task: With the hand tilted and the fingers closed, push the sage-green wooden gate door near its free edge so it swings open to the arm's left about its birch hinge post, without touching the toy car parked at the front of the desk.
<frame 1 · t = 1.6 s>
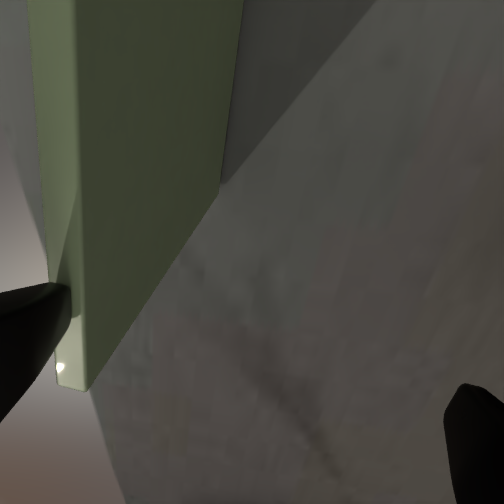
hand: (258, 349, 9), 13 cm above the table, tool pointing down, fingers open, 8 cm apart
door: (175, 104, 14), point 7 cm above the table, hinge at -0.2°, touching gripper
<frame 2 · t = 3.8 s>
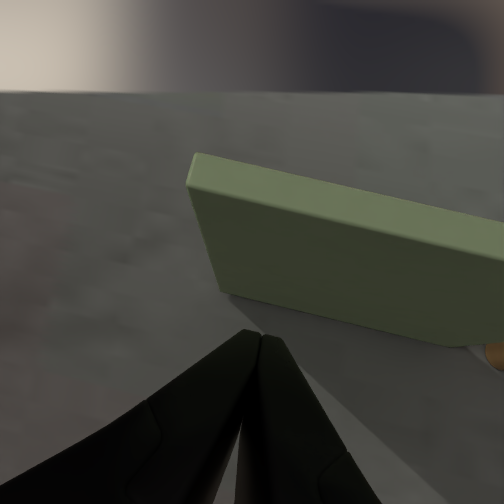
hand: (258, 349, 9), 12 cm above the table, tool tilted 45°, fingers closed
door: (372, 287, 15), point 7 cm above the table, hinge at -0.2°
door post: (455, 341, 22), on the table
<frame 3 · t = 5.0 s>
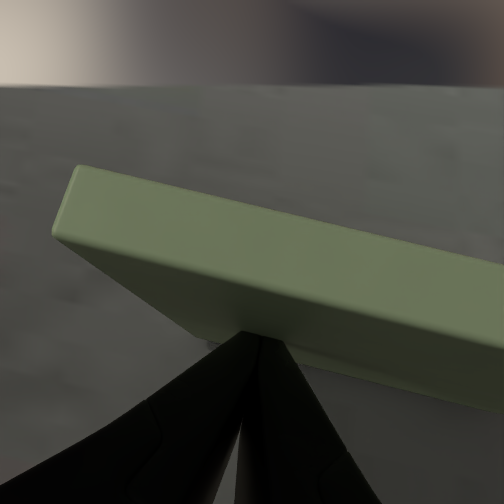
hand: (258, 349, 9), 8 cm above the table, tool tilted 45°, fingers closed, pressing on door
door: (402, 358, 10), point 7 cm above the table, hinge at 0.3°, touching gripper
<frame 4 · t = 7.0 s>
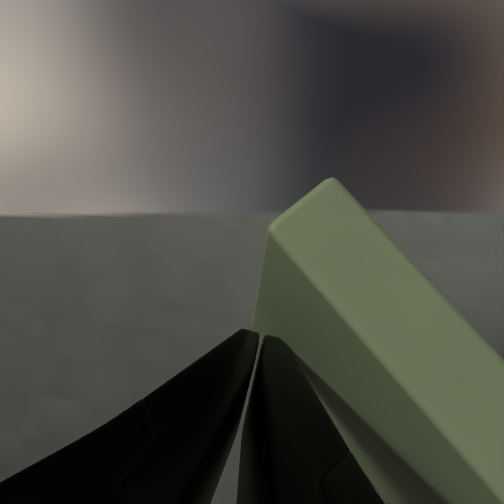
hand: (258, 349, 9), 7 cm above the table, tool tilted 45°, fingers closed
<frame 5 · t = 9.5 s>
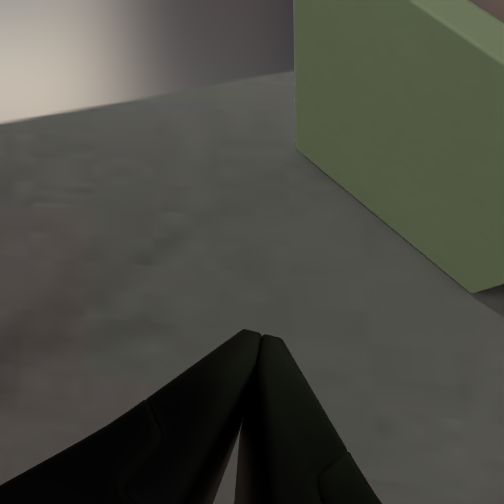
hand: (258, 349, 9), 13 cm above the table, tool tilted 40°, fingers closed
door: (417, 158, 16), point 7 cm above the table, hinge at 37.1°
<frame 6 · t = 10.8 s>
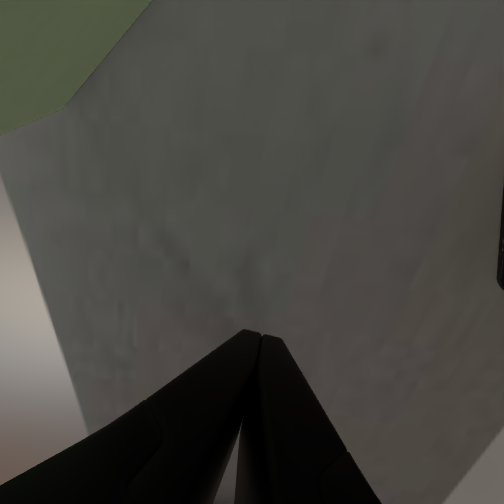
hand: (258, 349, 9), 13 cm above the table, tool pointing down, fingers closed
door: (40, 19, 13), point 7 cm above the table, hinge at 37.1°
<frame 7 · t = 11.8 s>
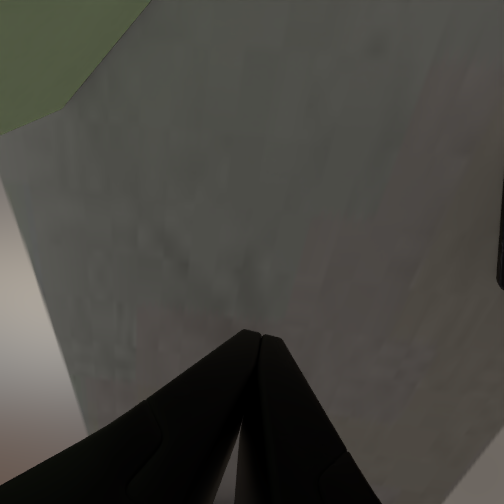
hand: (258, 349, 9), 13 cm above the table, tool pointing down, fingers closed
door: (39, 20, 13), point 7 cm above the table, hinge at 37.1°
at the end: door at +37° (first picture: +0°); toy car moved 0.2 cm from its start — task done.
